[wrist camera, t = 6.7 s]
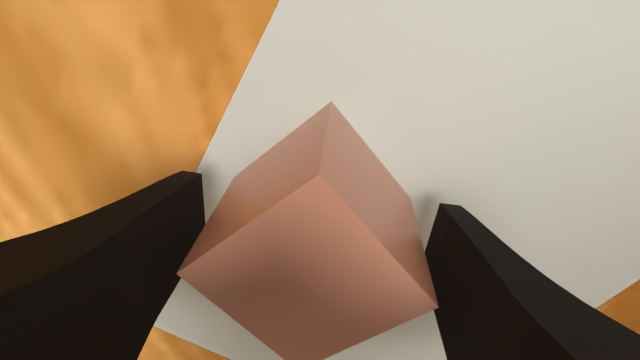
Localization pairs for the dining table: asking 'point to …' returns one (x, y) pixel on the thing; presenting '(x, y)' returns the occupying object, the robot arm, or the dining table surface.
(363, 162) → the peach colored cube
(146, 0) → the dining table surface
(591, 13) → the board
